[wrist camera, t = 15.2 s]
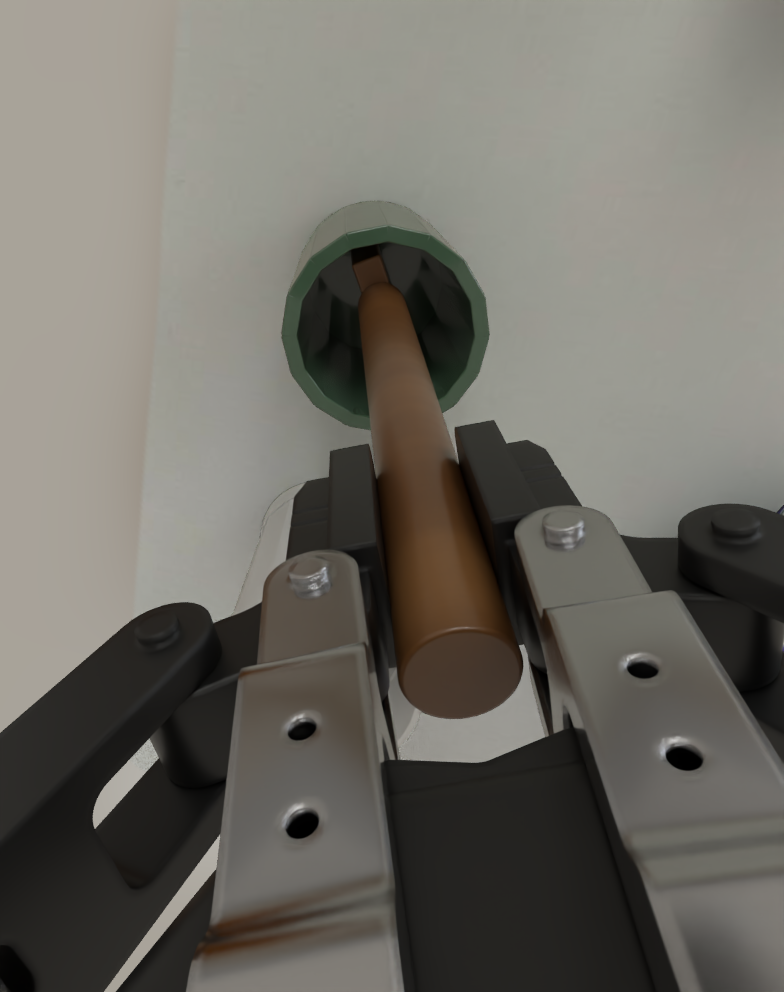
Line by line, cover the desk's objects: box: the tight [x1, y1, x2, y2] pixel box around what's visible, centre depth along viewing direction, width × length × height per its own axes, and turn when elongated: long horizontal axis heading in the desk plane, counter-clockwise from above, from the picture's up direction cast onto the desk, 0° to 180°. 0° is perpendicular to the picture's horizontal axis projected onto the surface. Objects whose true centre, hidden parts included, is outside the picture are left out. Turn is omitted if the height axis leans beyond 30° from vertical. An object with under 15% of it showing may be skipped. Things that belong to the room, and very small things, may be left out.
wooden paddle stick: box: [350, 244, 523, 719], centre depth 18 cm, size 3×2×22 cm, turn 19°
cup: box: [231, 483, 421, 748], centre depth 31 cm, size 8×8×12 cm
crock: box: [281, 201, 490, 430], centre depth 26 cm, size 7×7×9 cm
